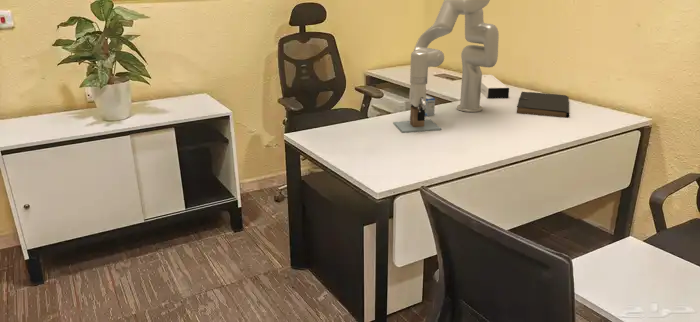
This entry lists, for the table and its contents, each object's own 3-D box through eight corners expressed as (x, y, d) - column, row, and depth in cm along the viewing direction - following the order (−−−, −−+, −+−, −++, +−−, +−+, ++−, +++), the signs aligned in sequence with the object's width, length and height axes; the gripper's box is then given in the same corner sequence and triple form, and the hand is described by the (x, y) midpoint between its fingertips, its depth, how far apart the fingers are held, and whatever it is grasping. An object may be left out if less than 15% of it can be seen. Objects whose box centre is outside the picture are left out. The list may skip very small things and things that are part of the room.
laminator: (472, 85, 318) (473, 74, 315) (492, 84, 318) (493, 74, 316) (487, 99, 286) (488, 88, 284) (510, 99, 286) (511, 87, 284)
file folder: (521, 90, 287) (569, 95, 279) (520, 98, 288) (568, 102, 280) (516, 106, 258) (569, 111, 250) (515, 114, 259) (568, 119, 252)
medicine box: (417, 112, 262) (418, 95, 259) (425, 111, 264) (425, 94, 261) (426, 116, 255) (427, 99, 252) (434, 115, 257) (435, 97, 254)
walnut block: (410, 123, 242) (410, 106, 239) (420, 123, 243) (421, 106, 240) (413, 127, 237) (414, 109, 234) (424, 126, 238) (425, 109, 235)
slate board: (393, 123, 245) (393, 122, 245) (430, 121, 248) (430, 119, 248) (402, 132, 232) (402, 131, 232) (441, 130, 235) (441, 128, 235)
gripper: (404, 76, 240) (403, 112, 246) (416, 84, 224) (415, 123, 230) (420, 75, 241) (419, 111, 247) (433, 83, 225) (432, 122, 231)
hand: (417, 117), depth 239 cm, fingers open, 9 cm apart
